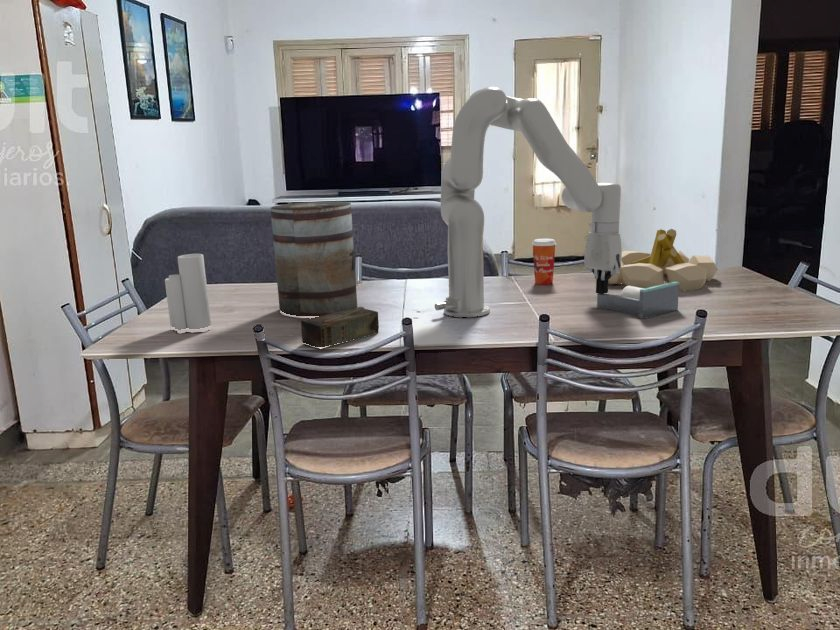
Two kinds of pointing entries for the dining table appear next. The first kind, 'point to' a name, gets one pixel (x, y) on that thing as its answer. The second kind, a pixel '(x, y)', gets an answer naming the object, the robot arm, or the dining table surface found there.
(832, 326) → the dining table surface
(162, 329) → the dining table surface
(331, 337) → the olive brown box
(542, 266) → the paper cup
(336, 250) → the barrel
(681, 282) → the campfire
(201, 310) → the vase
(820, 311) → the dining table surface
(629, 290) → the roll
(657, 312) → the holder
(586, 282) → the dining table surface
